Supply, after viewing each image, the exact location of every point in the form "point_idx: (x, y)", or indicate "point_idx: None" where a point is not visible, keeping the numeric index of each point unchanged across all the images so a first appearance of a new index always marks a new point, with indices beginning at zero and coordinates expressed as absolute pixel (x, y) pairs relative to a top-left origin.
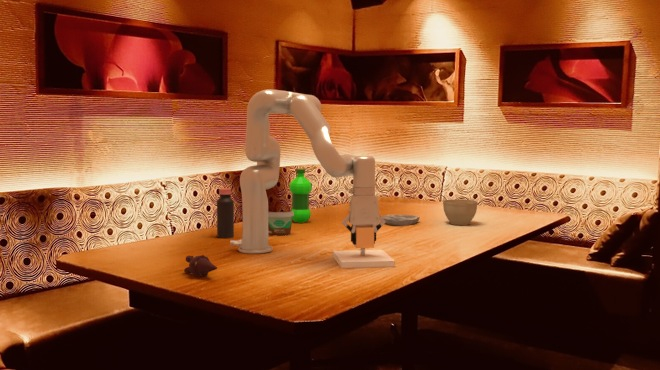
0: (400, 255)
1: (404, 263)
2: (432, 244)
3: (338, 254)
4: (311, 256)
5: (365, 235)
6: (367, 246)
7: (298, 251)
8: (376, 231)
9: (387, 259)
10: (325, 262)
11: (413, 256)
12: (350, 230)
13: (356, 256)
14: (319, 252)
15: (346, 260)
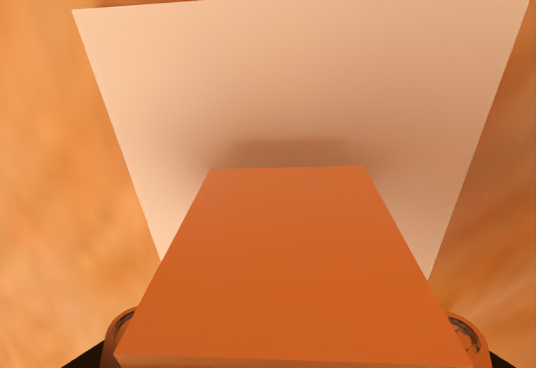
0: (98, 259)
1: (51, 104)
2: (14, 364)
3: (429, 228)
4: (512, 283)
5: (285, 245)
6: (266, 172)
7: (516, 350)
8: (128, 322)
9: (131, 64)
10: (516, 168)
11: (38, 239)
12: (491, 360)
13: None
14: None
15: (460, 49)
